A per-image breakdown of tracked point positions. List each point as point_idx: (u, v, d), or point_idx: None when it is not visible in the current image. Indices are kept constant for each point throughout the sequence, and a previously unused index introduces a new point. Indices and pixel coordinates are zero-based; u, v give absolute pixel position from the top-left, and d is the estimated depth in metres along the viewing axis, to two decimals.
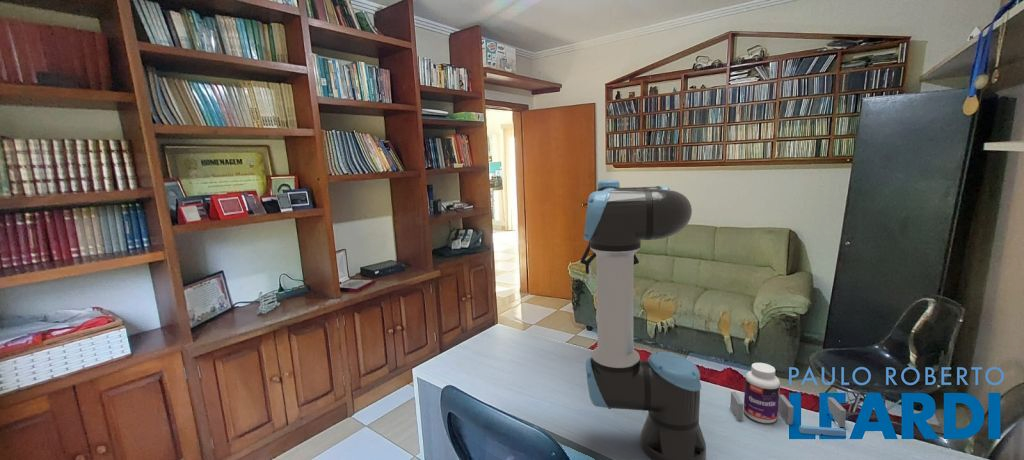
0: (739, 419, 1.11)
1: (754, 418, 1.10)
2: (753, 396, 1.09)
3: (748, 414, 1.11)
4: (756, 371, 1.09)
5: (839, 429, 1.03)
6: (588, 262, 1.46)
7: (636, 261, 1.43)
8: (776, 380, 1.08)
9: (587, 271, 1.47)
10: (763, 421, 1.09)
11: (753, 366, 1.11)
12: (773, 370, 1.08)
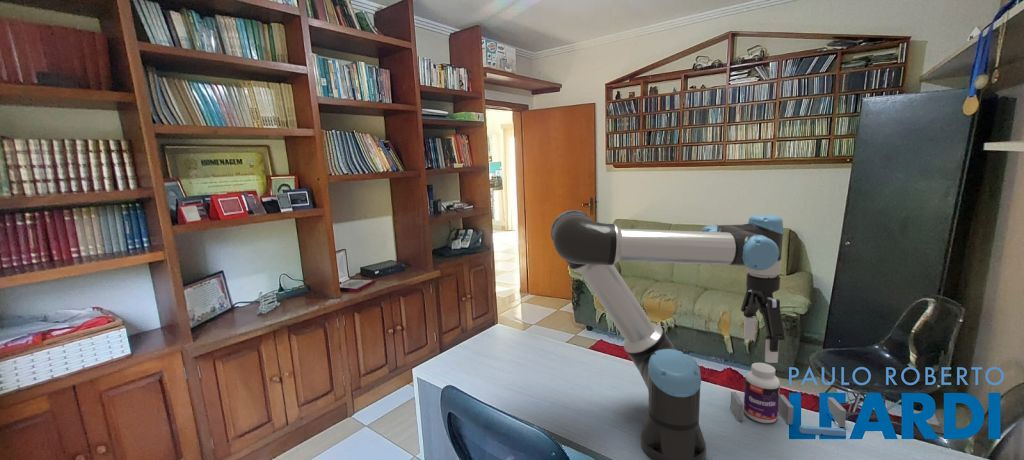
0: (739, 419, 1.11)
1: (754, 418, 1.10)
2: (753, 396, 1.09)
3: (748, 414, 1.11)
4: (756, 371, 1.09)
5: (839, 429, 1.03)
6: (745, 313, 1.16)
7: (772, 336, 1.00)
8: (776, 380, 1.08)
9: None
10: (763, 421, 1.09)
11: (753, 366, 1.11)
12: (773, 370, 1.09)
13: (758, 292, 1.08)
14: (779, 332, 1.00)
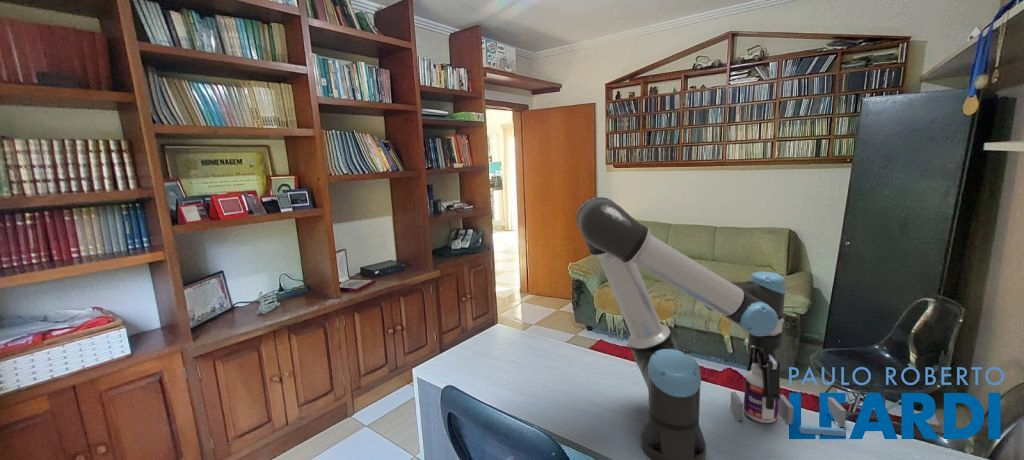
0: (739, 419, 1.11)
1: (754, 418, 1.10)
2: (753, 396, 1.09)
3: (748, 414, 1.11)
4: (756, 371, 1.09)
5: (839, 429, 1.03)
6: None
7: (768, 395, 1.04)
8: None
9: None
10: (763, 421, 1.09)
11: (753, 366, 1.11)
12: None
13: (760, 348, 1.09)
14: (775, 393, 1.03)
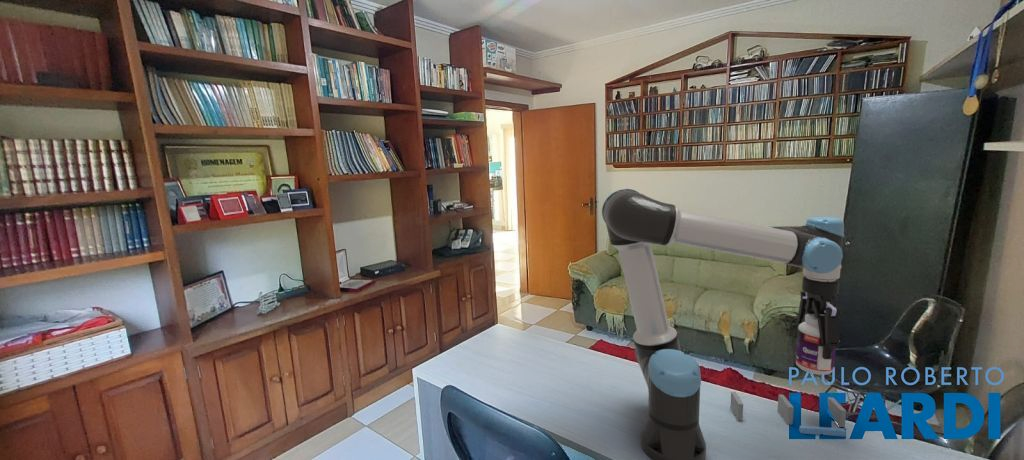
0: (739, 419, 1.11)
1: (809, 370, 1.05)
2: (808, 346, 1.05)
3: (802, 366, 1.07)
4: (811, 320, 1.04)
5: (839, 429, 1.03)
6: None
7: (826, 343, 1.00)
8: None
9: None
10: (819, 372, 1.04)
11: (807, 316, 1.06)
12: None
13: (815, 296, 1.04)
14: (834, 340, 0.99)
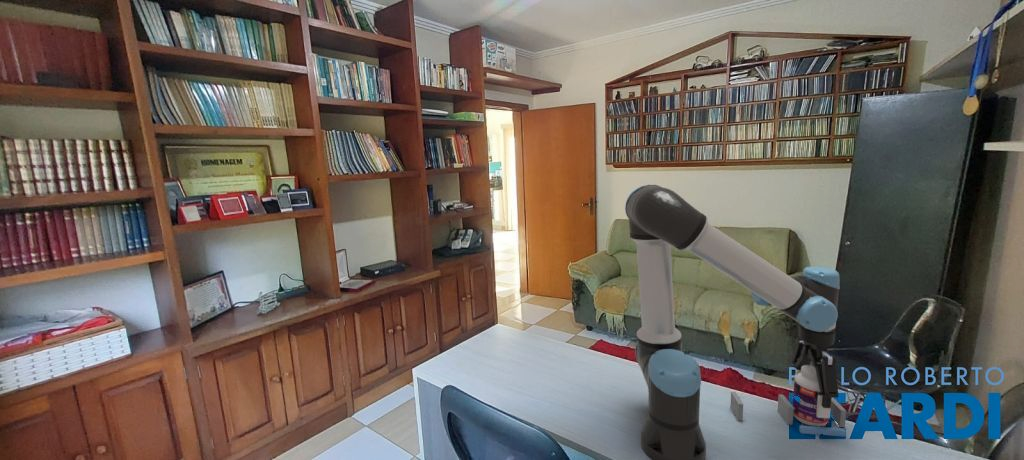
0: (739, 419, 1.11)
1: (805, 422, 1.07)
2: (804, 399, 1.07)
3: (798, 417, 1.09)
4: (807, 373, 1.07)
5: (839, 429, 1.03)
6: (796, 365, 1.15)
7: (825, 393, 1.00)
8: None
9: None
10: (814, 425, 1.06)
11: (803, 368, 1.09)
12: None
13: (811, 344, 1.07)
14: (833, 390, 1.00)
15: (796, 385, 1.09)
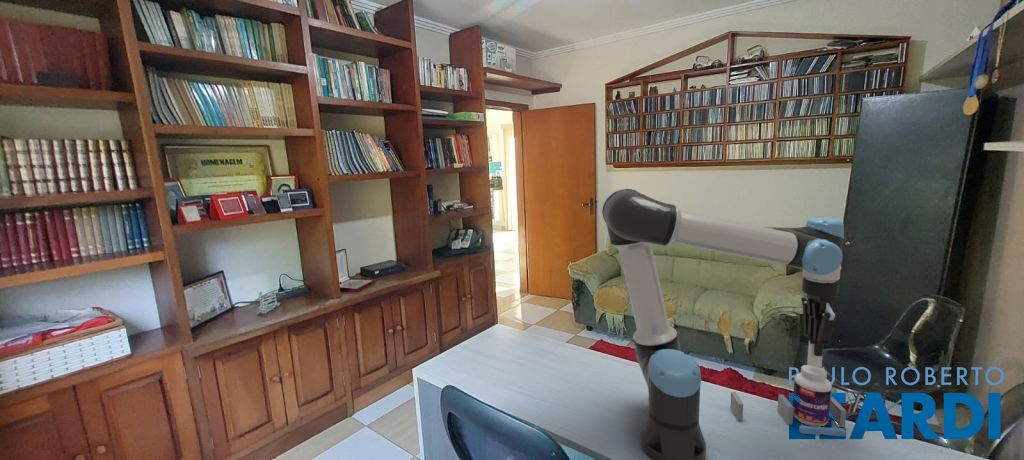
0: (739, 419, 1.11)
1: (805, 422, 1.07)
2: (804, 399, 1.07)
3: (798, 417, 1.09)
4: (807, 374, 1.07)
5: (839, 429, 1.03)
6: (808, 335, 1.08)
7: (817, 340, 1.04)
8: (828, 383, 1.06)
9: None
10: (814, 425, 1.06)
11: (803, 368, 1.09)
12: (825, 373, 1.06)
13: (815, 297, 1.04)
14: (826, 340, 1.02)
15: (796, 385, 1.09)
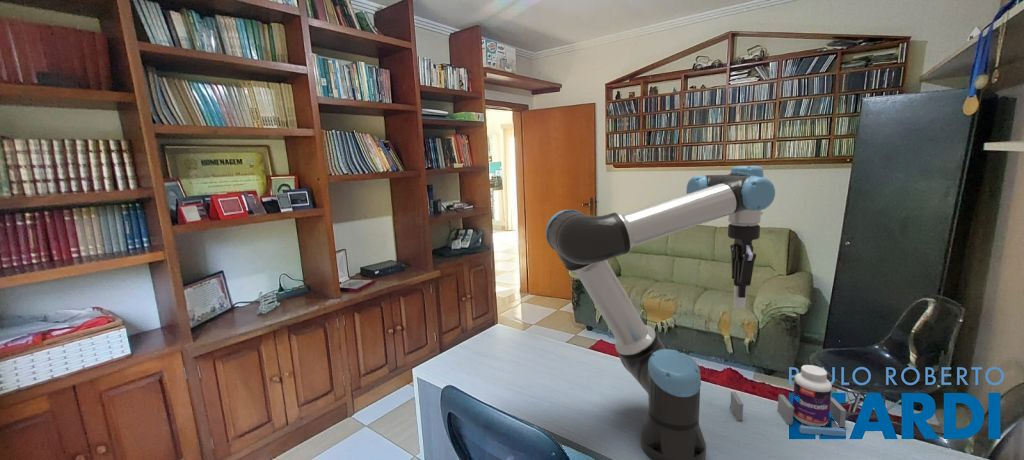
0: (739, 419, 1.11)
1: (805, 422, 1.07)
2: (804, 399, 1.07)
3: (798, 417, 1.09)
4: (807, 374, 1.07)
5: (839, 429, 1.03)
6: (734, 278, 1.14)
7: (739, 282, 1.10)
8: (828, 383, 1.06)
9: None
10: (814, 425, 1.06)
11: (803, 368, 1.09)
12: (825, 373, 1.06)
13: (739, 241, 1.11)
14: (747, 280, 1.09)
15: (796, 385, 1.09)
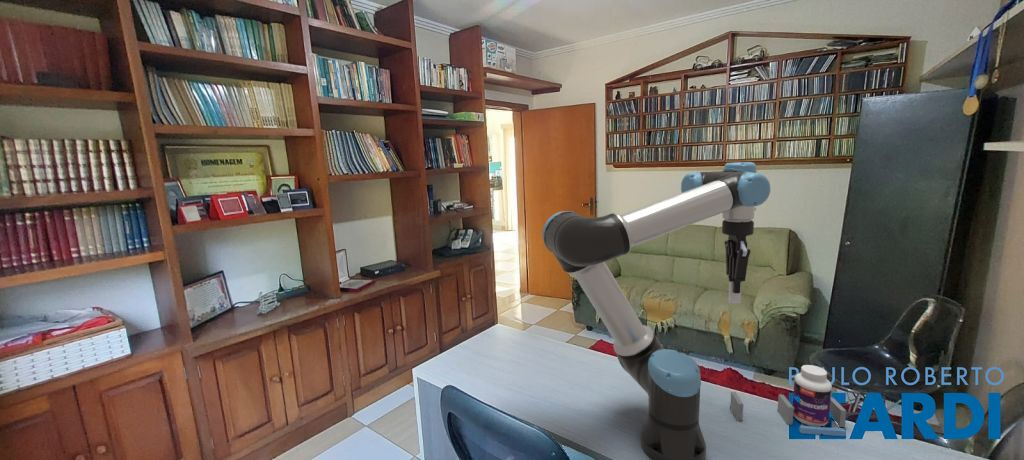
0: (739, 419, 1.11)
1: (805, 422, 1.07)
2: (804, 399, 1.07)
3: (798, 417, 1.09)
4: (807, 374, 1.07)
5: (839, 429, 1.03)
6: (729, 274, 1.15)
7: (734, 277, 1.10)
8: (828, 383, 1.06)
9: None
10: (814, 425, 1.06)
11: (803, 368, 1.09)
12: (825, 373, 1.06)
13: (733, 237, 1.11)
14: (741, 276, 1.09)
15: (796, 385, 1.09)
